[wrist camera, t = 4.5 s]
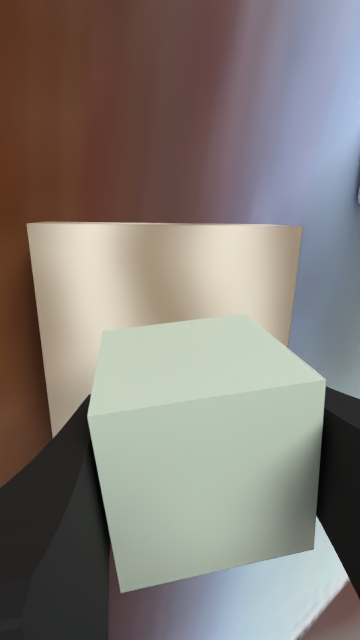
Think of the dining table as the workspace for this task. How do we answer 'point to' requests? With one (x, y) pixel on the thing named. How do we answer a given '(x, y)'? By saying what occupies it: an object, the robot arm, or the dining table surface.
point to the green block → (204, 447)
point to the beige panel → (149, 287)
